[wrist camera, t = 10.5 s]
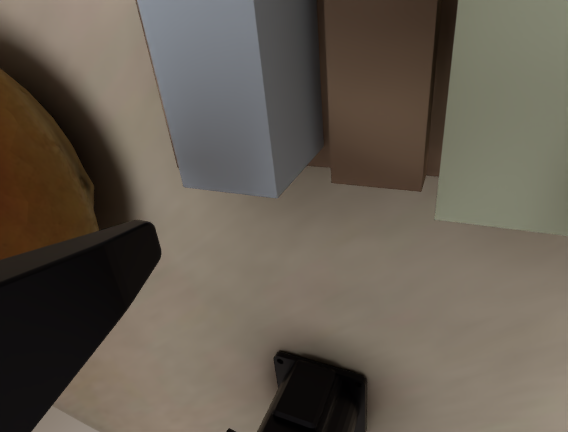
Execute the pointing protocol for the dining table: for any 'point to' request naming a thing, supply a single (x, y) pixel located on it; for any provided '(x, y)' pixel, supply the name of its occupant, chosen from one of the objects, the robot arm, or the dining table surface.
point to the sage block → (507, 117)
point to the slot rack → (382, 89)
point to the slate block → (238, 89)
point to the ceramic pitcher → (38, 177)
